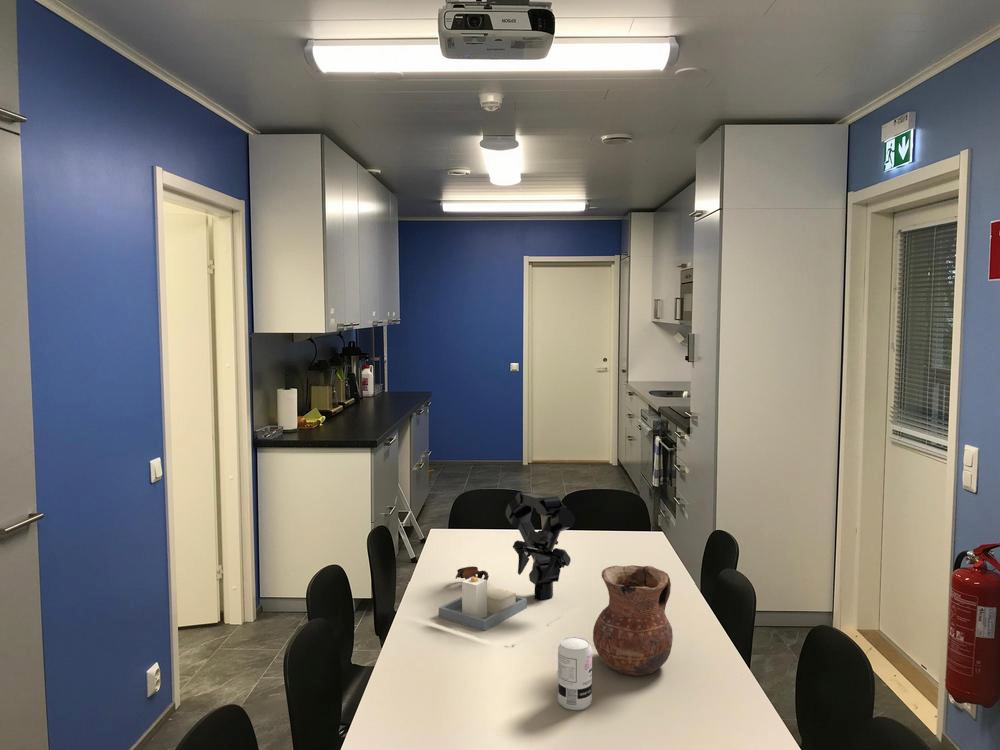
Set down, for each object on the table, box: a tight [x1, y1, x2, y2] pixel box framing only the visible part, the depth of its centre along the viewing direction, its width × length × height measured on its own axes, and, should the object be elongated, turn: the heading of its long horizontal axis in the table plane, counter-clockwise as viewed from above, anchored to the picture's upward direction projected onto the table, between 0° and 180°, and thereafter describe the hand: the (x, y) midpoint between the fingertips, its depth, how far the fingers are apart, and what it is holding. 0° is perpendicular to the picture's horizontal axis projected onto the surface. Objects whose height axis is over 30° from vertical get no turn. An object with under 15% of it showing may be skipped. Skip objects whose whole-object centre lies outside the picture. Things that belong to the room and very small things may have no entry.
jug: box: [592, 565, 674, 677], centre depth 201 cm, size 22×21×25 cm
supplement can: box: [557, 636, 593, 711], centre depth 180 cm, size 8×8×15 cm
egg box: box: [487, 584, 517, 614], centre depth 239 cm, size 8×12×5 cm
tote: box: [438, 595, 528, 632], centre depth 235 cm, size 22×18×4 cm
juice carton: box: [461, 576, 488, 619], centre depth 231 cm, size 6×6×12 cm
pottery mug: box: [455, 566, 490, 581], centre depth 261 cm, size 12×10×8 cm
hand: (531, 576), depth 230 cm, fingers open, 9 cm apart
